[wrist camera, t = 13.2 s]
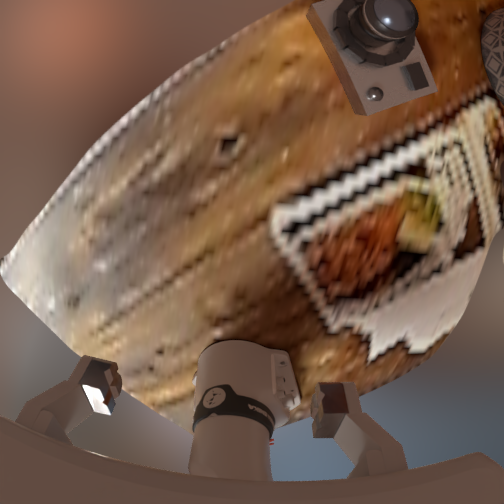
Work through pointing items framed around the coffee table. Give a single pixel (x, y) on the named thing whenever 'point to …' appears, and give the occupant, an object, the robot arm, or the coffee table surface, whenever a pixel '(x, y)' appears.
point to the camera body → (370, 61)
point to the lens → (383, 21)
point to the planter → (494, 50)
